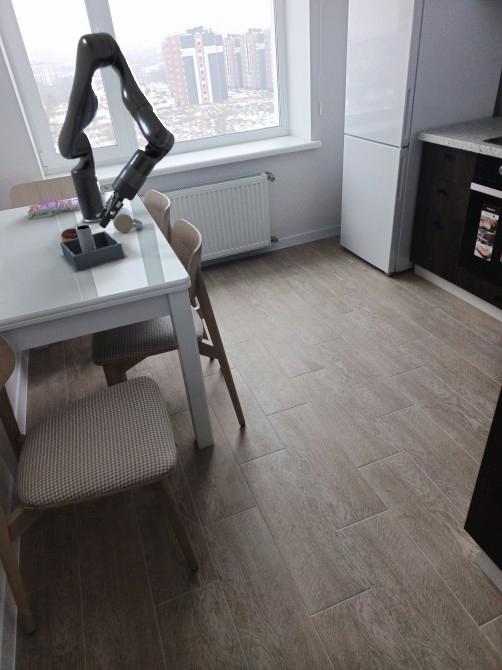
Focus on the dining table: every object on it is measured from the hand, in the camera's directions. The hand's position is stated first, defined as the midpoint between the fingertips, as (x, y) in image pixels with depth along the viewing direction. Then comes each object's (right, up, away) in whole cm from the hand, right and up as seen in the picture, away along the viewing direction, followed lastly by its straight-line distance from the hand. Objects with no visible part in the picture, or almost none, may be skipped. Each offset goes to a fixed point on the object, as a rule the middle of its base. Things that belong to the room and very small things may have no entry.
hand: (101, 222), depth 152 cm
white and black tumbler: (-5, -10, +5) cm, 12 cm away
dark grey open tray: (-4, -10, +6) cm, 12 cm away
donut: (-15, -2, +20) cm, 25 cm away
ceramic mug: (+2, +4, +27) cm, 27 cm away
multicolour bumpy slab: (-34, +19, +56) cm, 68 cm away
